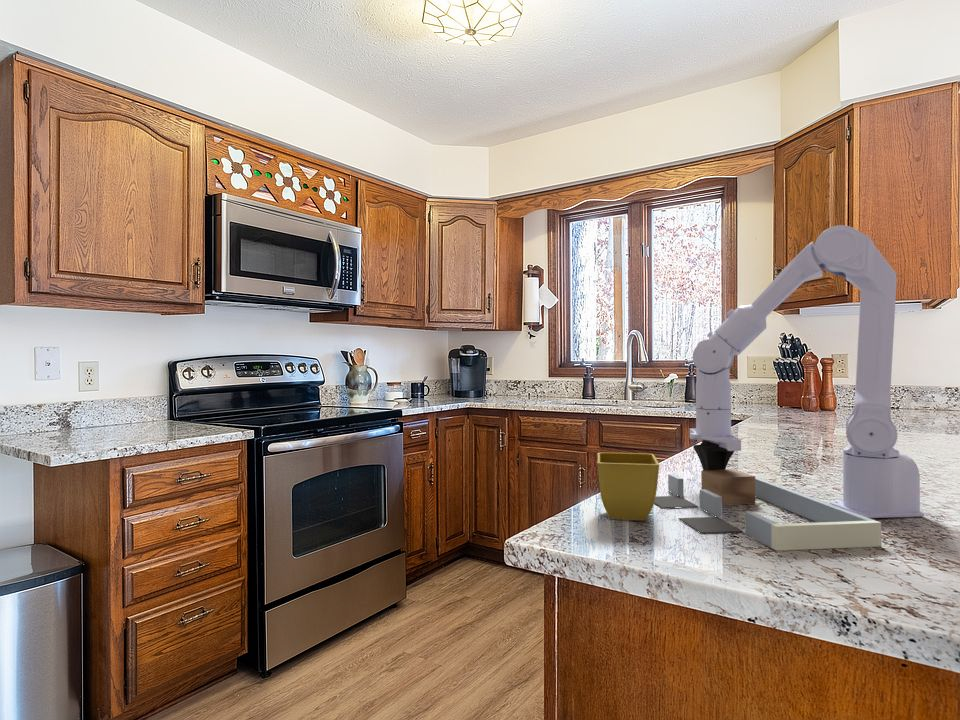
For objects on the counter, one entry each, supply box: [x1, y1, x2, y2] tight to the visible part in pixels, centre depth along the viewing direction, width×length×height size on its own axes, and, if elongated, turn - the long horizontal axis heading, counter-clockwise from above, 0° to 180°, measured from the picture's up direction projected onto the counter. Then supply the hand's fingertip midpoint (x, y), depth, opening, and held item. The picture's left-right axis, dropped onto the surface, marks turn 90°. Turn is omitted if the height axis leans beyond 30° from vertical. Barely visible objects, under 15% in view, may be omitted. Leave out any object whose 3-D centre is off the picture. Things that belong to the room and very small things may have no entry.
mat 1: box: [653, 495, 699, 509], centre depth 94 cm, size 6×7×1 cm
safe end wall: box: [770, 519, 882, 551], centre depth 72 cm, size 14×1×3 cm, turn 95°
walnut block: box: [700, 468, 756, 506], centre depth 96 cm, size 6×6×4 cm
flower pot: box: [596, 451, 660, 522], centre depth 86 cm, size 9×9×9 cm
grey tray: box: [667, 473, 874, 549], centre depth 88 cm, size 14×31×3 cm, turn 5°
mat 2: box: [678, 516, 744, 534], centre depth 81 cm, size 6×7×1 cm
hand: (713, 485), depth 100 cm, fingers closed
